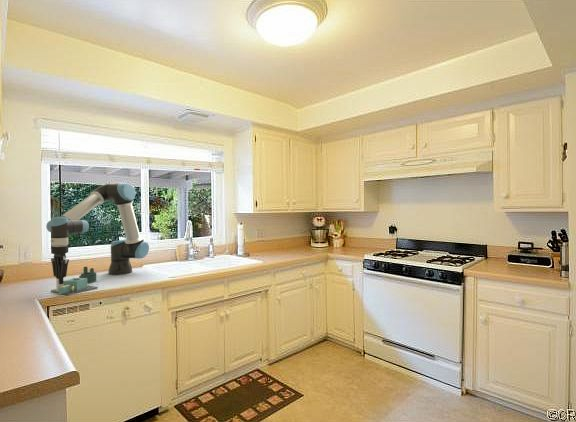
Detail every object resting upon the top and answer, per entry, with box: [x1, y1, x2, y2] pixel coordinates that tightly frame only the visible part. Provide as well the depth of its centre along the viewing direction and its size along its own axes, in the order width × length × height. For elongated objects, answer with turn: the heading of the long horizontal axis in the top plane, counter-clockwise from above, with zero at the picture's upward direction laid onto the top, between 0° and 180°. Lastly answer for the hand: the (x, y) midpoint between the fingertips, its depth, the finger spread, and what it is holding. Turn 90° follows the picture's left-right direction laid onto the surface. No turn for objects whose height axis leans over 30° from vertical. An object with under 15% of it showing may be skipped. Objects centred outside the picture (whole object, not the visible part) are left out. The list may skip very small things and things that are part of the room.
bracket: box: [78, 266, 97, 284], centre depth 200 cm, size 9×9×9 cm
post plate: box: [50, 284, 98, 296], centre depth 179 cm, size 16×16×5 cm
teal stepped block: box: [58, 277, 88, 294], centre depth 175 cm, size 14×8×5 cm, turn 175°
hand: (59, 290), depth 171 cm, fingers closed
